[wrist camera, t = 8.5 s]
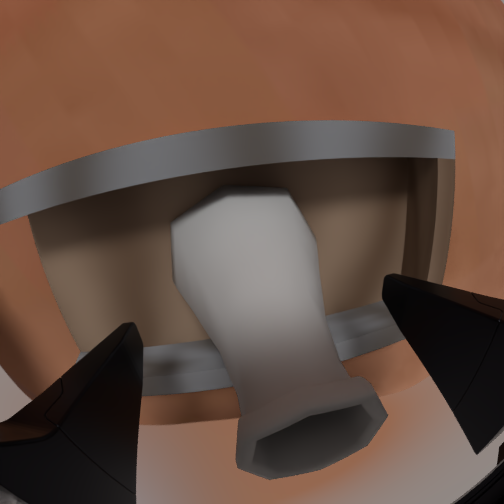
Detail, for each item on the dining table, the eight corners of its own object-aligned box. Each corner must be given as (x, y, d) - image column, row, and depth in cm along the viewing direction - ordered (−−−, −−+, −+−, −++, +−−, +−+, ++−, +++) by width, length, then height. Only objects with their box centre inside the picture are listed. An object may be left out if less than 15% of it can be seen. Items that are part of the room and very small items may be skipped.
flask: (323, 295, 15) (427, 439, 6) (197, 334, 15) (209, 513, 5) (299, 164, 12) (493, 222, 3) (146, 209, 12) (30, 368, 3)
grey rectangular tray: (94, 359, 15) (80, 396, 12) (30, 180, 11) (-8, 192, 8) (402, 302, 18) (431, 327, 15) (413, 128, 13) (454, 130, 10)
